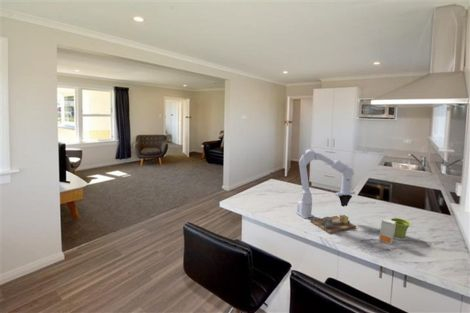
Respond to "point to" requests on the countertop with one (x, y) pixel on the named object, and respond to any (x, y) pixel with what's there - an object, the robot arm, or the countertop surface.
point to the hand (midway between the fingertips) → (344, 205)
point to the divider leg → (344, 219)
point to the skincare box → (387, 231)
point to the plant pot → (400, 227)
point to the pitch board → (333, 229)
